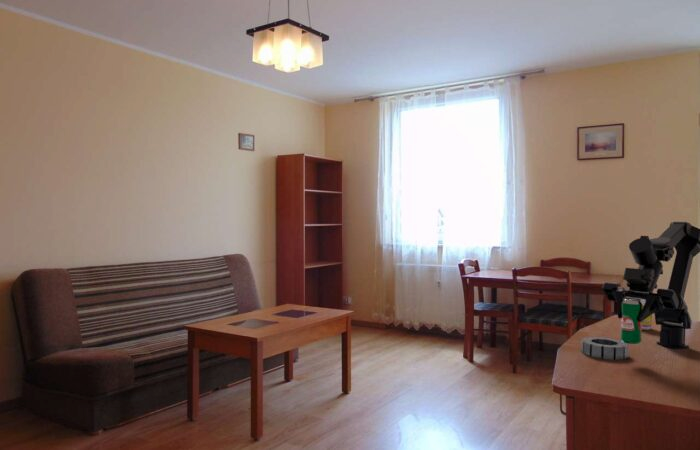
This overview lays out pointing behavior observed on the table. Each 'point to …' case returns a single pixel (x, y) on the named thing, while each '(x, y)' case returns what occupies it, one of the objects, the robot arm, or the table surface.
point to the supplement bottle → (648, 321)
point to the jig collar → (604, 348)
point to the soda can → (631, 320)
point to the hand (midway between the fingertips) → (629, 319)
